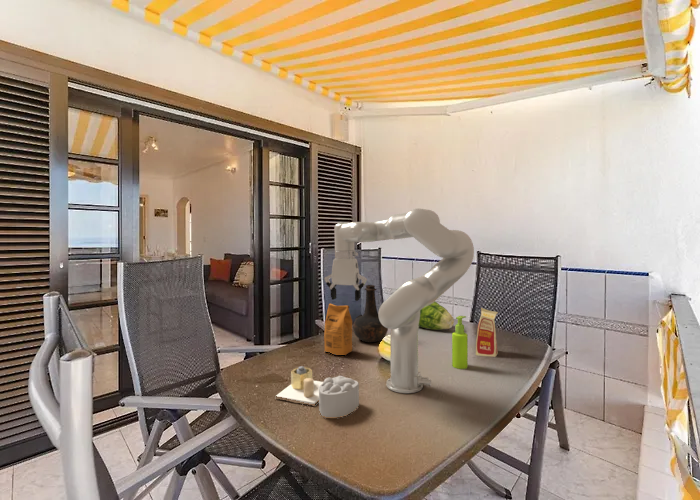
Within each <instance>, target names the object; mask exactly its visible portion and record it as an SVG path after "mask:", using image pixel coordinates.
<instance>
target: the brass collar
mask: <svg viewBox="0 0 700 500" xmlns="http://www.w3.org/2000/svg"><path fill="white" fill-rule="evenodd" d="M303 367H304V368H305V369H306V373H304V374H297V369H298V367H295V368H293V369H292V370H291V371H290V385H291V386H292V387H293V389H298V390H303V389H304V379H306V378H312V379H313V370H312V369H311V368H310V367H305V366H303Z"/></svg>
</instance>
